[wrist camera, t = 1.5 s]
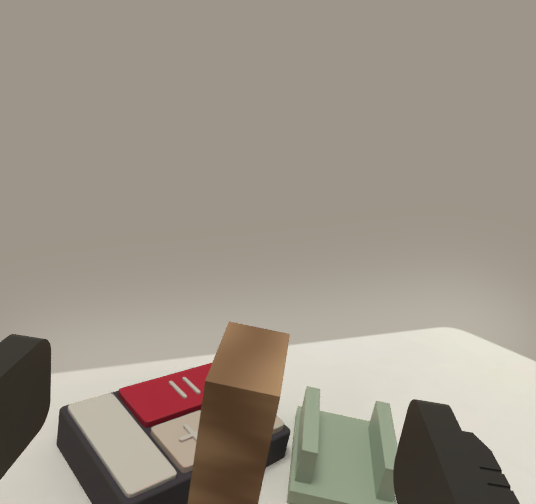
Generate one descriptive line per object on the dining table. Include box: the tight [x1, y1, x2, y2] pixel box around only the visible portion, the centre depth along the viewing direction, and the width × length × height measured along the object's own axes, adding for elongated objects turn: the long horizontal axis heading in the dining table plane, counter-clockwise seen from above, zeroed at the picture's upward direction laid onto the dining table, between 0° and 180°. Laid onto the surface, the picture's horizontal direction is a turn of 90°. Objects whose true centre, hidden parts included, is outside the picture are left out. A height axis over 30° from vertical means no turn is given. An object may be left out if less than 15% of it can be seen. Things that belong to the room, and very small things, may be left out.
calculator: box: [57, 363, 290, 504], centre depth 40 cm, size 11×4×15 cm
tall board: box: [188, 322, 289, 504], centre depth 25 cm, size 3×5×17 cm, turn 173°
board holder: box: [287, 386, 398, 504], centre depth 41 cm, size 8×10×4 cm
